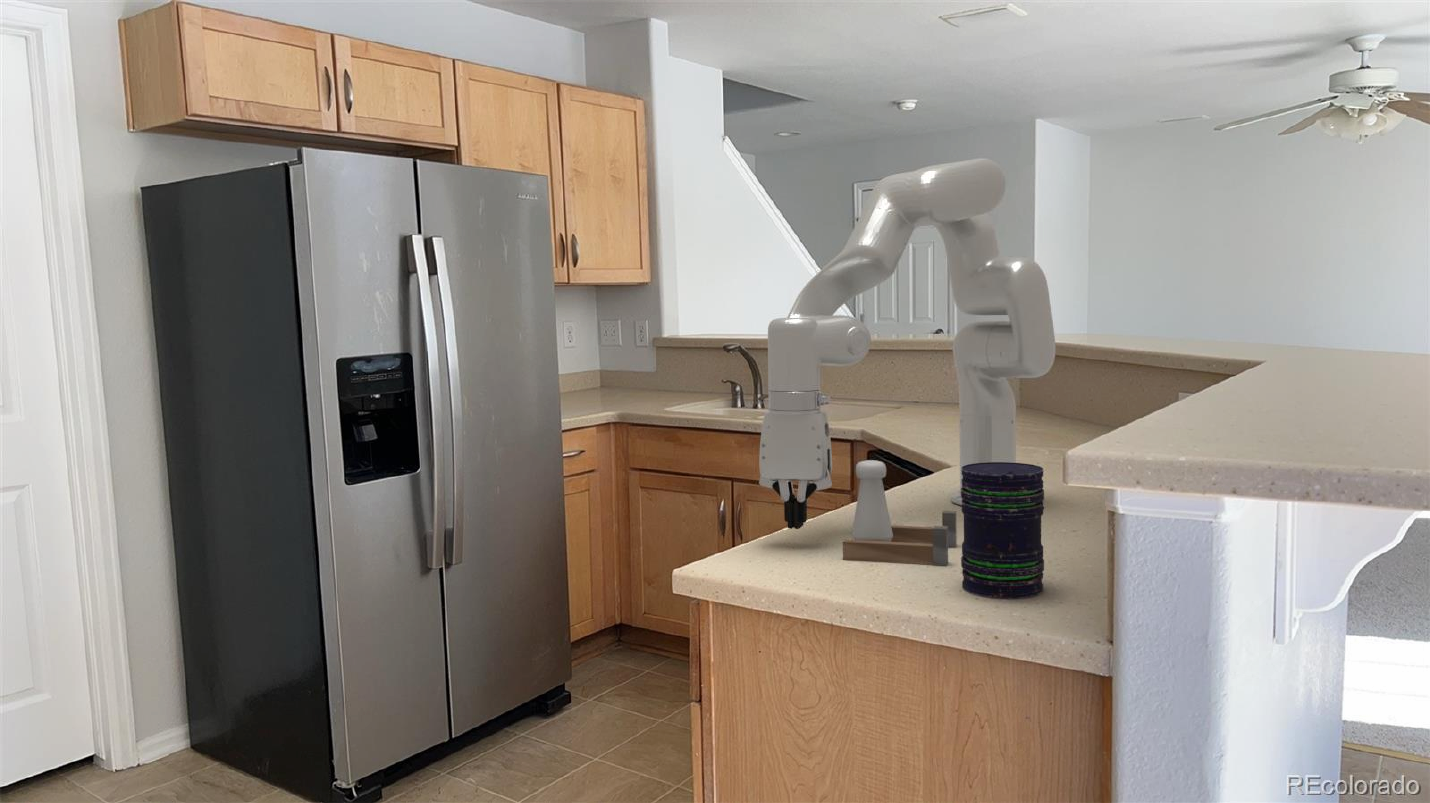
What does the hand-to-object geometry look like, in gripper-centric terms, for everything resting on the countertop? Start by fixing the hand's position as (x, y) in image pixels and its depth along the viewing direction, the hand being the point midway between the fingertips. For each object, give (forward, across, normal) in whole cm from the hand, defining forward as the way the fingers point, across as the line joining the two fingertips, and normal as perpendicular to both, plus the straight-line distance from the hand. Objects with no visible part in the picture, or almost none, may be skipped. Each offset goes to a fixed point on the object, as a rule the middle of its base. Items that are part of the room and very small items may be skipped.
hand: (795, 526), depth 148 cm
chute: (+3, -15, 0) cm, 15 cm away
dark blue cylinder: (+3, -30, +15) cm, 34 cm away
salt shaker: (+3, -11, 0) cm, 12 cm away
